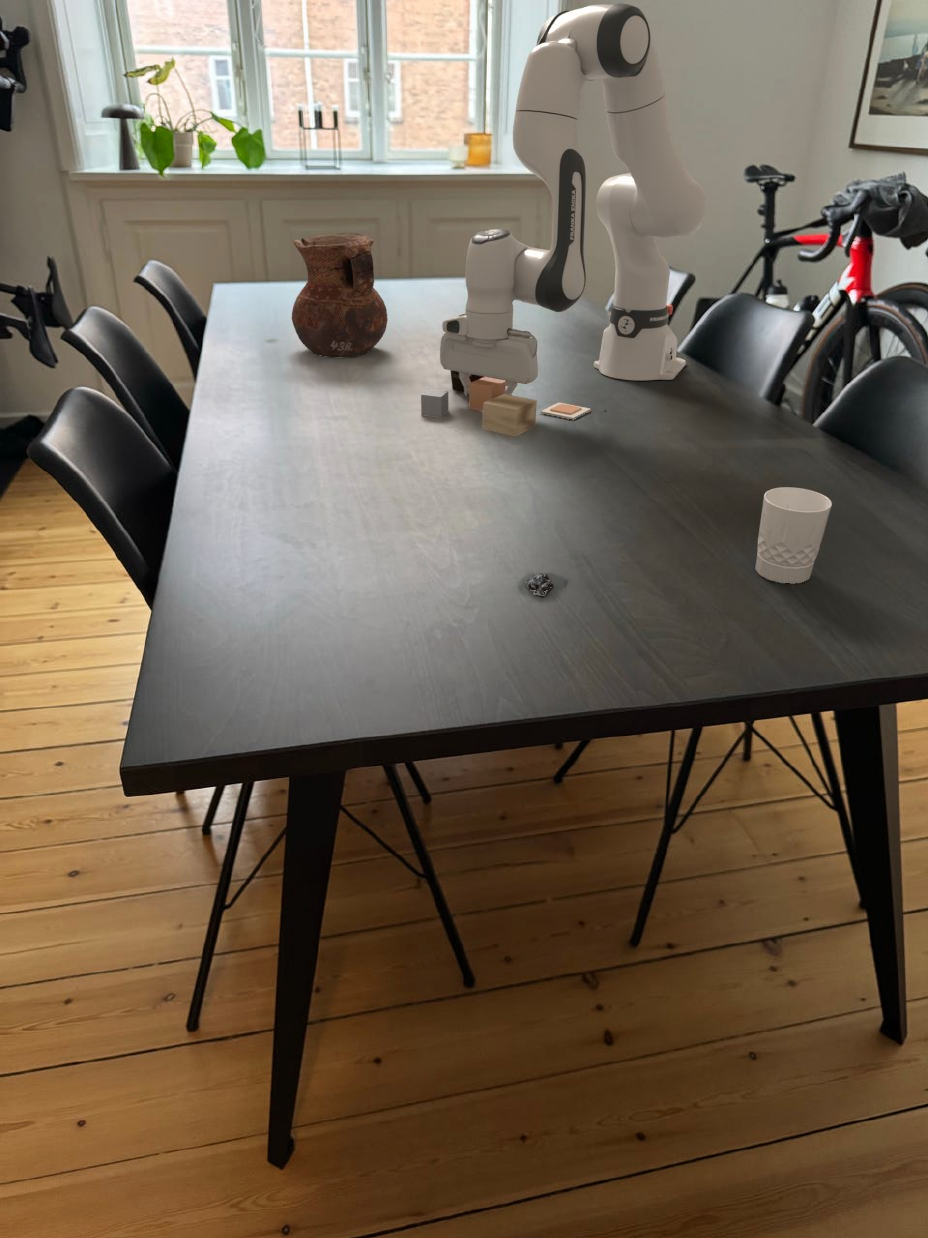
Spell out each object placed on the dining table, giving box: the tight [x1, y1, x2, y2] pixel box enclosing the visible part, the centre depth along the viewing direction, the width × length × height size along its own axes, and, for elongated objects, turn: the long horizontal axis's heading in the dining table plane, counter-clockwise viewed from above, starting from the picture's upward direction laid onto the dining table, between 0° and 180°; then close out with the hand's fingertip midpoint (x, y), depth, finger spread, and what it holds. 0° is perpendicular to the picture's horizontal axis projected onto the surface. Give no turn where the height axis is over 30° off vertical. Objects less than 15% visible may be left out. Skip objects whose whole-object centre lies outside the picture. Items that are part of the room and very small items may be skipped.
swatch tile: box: [540, 402, 591, 421], centre depth 171 cm, size 7×7×1 cm
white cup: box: [754, 486, 833, 585], centre depth 112 cm, size 8×8×10 cm
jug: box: [291, 232, 388, 358], centre depth 205 cm, size 22×21×25 cm
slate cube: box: [420, 388, 449, 418], centre depth 170 cm, size 4×4×4 cm
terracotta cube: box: [468, 377, 507, 412], centre depth 173 cm, size 5×5×5 cm
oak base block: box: [482, 394, 538, 437], centre depth 162 cm, size 7×7×5 cm
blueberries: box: [525, 572, 554, 595], centre depth 110 cm, size 7×8×2 cm
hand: (487, 398), depth 173 cm, fingers open, 7 cm apart
